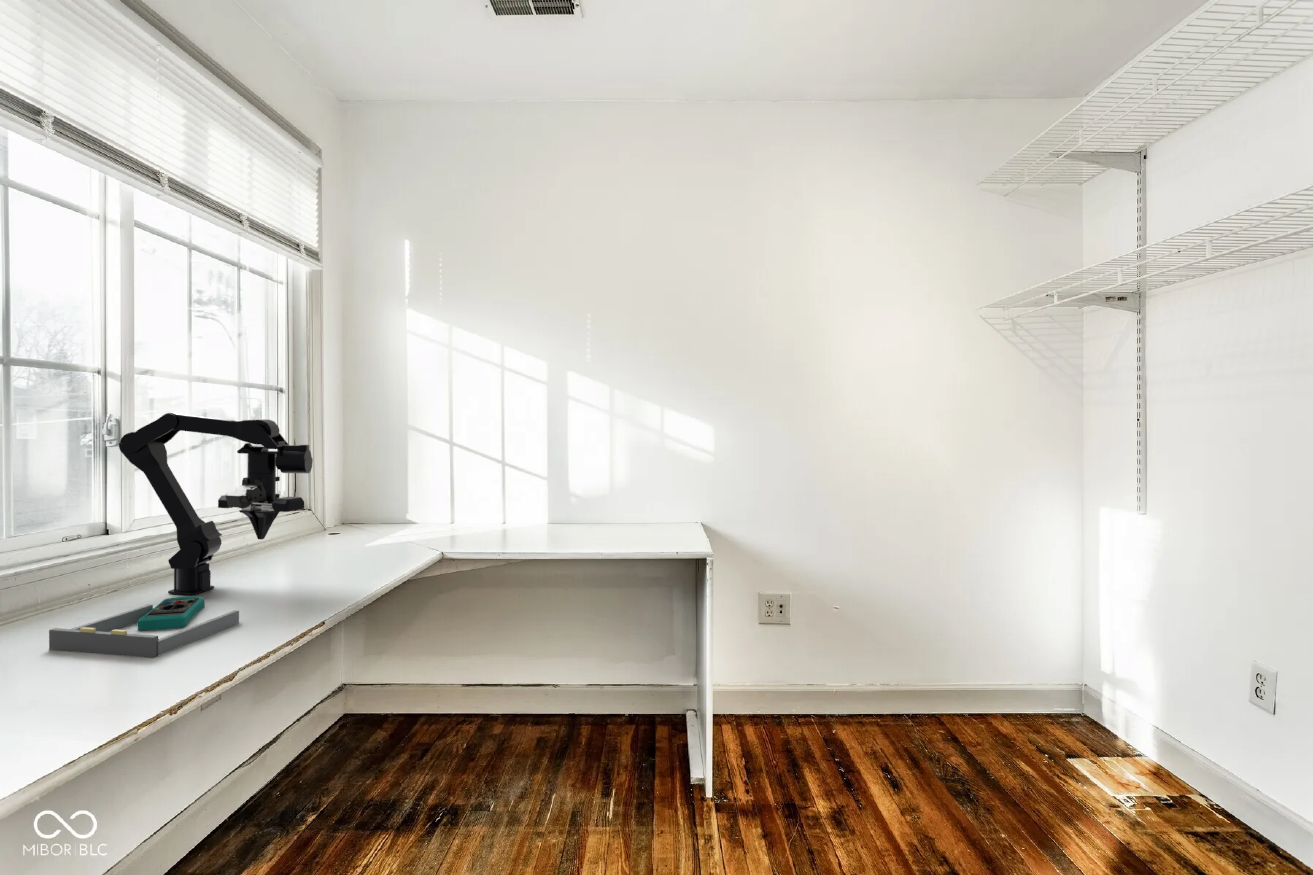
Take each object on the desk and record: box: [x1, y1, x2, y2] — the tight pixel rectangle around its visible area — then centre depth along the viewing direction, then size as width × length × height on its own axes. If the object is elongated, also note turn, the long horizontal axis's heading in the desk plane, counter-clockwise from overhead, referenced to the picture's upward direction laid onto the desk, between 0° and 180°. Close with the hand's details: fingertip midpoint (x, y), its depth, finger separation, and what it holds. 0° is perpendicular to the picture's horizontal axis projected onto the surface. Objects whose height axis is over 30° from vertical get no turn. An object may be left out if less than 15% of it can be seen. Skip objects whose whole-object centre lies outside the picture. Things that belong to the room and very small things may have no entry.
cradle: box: [48, 604, 240, 659], centre depth 123 cm, size 20×20×4 cm
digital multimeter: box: [137, 595, 205, 632], centre depth 134 cm, size 8×15×3 cm, turn 21°
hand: (261, 539), depth 156 cm, fingers closed
